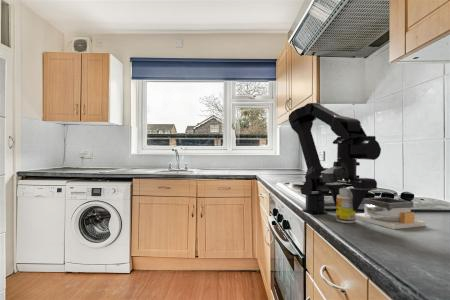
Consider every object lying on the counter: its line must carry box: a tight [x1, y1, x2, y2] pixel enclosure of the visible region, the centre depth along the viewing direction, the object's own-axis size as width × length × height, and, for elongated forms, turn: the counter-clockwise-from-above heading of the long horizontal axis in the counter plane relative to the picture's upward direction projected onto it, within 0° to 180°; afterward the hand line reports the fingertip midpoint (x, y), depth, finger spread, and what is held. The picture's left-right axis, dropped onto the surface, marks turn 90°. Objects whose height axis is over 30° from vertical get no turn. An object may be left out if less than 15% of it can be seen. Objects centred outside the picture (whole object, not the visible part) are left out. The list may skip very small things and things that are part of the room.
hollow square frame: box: [361, 196, 415, 224], centre depth 100 cm, size 14×13×6 cm
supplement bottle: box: [335, 187, 356, 224], centre depth 99 cm, size 6×6×10 cm
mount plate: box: [355, 212, 426, 230], centre depth 101 cm, size 16×13×1 cm
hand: (345, 208), depth 99 cm, fingers open, 7 cm apart
